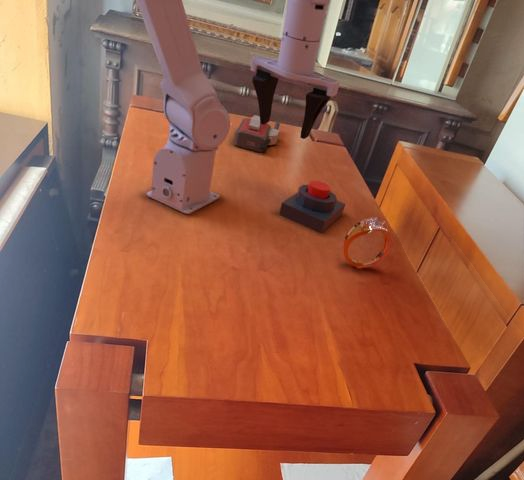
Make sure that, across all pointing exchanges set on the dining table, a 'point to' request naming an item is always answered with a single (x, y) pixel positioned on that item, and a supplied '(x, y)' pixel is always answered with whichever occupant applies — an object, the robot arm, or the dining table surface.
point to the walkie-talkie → (256, 134)
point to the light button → (318, 189)
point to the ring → (353, 234)
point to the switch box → (312, 209)
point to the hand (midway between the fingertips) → (284, 129)
